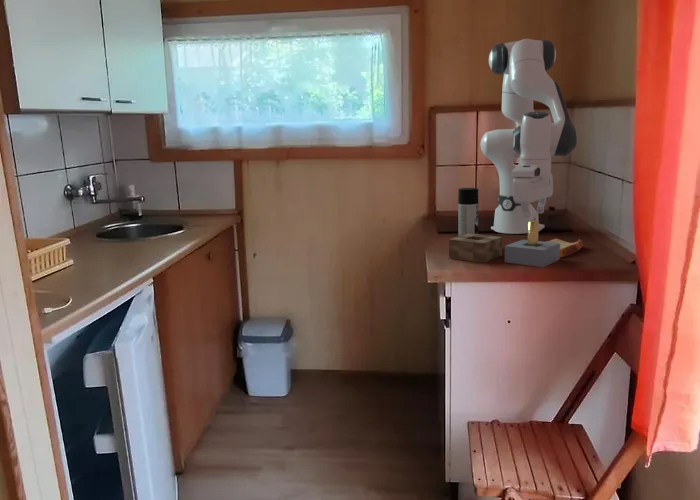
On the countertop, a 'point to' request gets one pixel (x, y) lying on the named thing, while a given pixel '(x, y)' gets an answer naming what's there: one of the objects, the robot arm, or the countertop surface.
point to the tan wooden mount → (475, 247)
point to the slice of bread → (567, 247)
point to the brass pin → (533, 233)
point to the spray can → (467, 211)
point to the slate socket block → (532, 253)
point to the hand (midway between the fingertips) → (533, 215)
